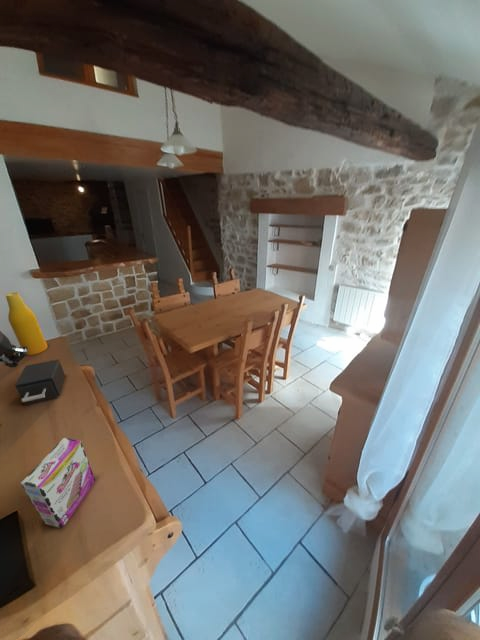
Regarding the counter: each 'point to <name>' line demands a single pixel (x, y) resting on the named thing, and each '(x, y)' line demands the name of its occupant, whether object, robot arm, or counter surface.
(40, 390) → the drawer
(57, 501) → the candy bar box
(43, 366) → the dark grey cabinet
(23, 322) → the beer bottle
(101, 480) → the counter surface
